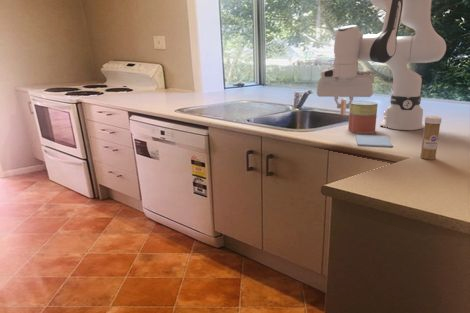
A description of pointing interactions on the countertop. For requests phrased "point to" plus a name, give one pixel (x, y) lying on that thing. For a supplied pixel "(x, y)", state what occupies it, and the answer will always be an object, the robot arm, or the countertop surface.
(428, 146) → the sprinkles bottle
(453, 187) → the countertop surface
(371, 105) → the canned food
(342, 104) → the tile
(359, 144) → the mat
